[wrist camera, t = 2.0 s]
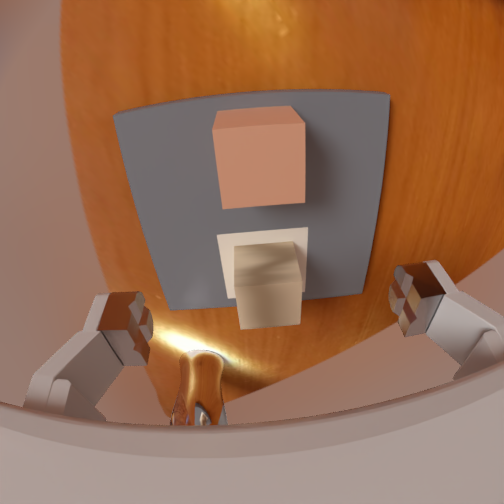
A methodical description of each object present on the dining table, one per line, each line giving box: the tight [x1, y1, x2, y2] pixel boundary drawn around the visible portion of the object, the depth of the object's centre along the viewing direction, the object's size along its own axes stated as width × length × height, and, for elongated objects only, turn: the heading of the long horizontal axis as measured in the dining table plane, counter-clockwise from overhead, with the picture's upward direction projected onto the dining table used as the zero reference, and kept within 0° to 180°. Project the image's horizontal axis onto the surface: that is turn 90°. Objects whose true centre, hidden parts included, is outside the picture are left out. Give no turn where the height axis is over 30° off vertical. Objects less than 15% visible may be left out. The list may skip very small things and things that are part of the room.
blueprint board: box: [113, 89, 390, 310], centre depth 26 cm, size 20×20×1 cm
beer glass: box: [170, 350, 228, 426], centre depth 34 cm, size 7×7×15 cm
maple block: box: [234, 241, 303, 329], centre depth 26 cm, size 5×5×5 cm
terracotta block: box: [212, 106, 305, 209], centre depth 19 cm, size 5×5×5 cm
